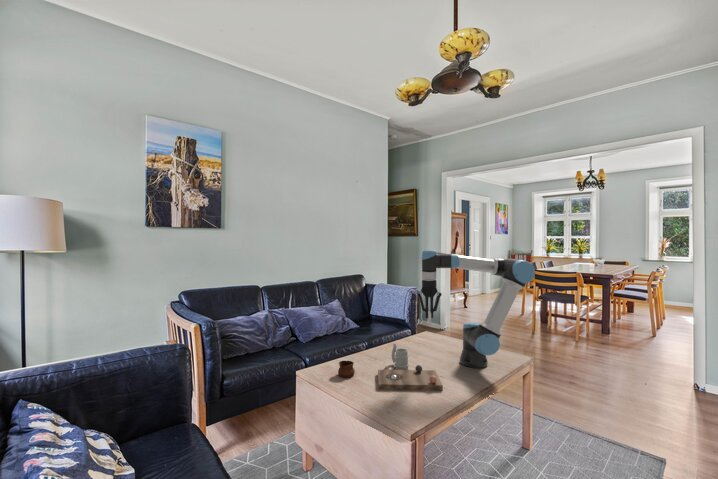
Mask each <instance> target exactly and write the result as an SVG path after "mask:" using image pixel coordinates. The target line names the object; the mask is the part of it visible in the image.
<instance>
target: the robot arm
mask: <svg viewBox="0 0 718 479" xmlns="http://www.w3.org/2000/svg"><path fill="white" fill-rule="evenodd" d="M437 269H458V270H459V269H460V270H467V271H473V272H475V271H476V272H481V273H489V274H491V275H492V276H496V277H502V278H501V280H502V284H501V287H500V288H499V291H498V292H497V294H496V297H495V299H494V301H493V303H492V305H491V307H490V309H489V311H488V313H487V315H486V317H485V319H484V321H483V322H465V323H463V325H462V350H461V353H460V356H459V363H460V364H461V365H463V366H464V367H467V366H468V368H472V369H473V368H474V369H483V368H486V367H487V366H488V365H489V364H488V363H489V362H488V356H493V355H495V354H496V353H497V352H499V350H500V347H501V343H500V338H501V336H502V333H501V332H500V331H501V328H502V326H503V325H504V323H505V321H506V318H507V316H508V314H509V312H510V311H511V308H512V306H513V304H514V302H515V300H516V298H517V295H518V294H519V292H520V290H523V289H525V287H526V285H527V284H528V283H530V282H532V281H533V280H534V278H535V276H536V271H535V268H534V265H533V264H532V263H531V262H529V261H527V260H525V259H517V258H494V257H493V258H492V259H490V258H482V257H474V256H466V255H459V254H457V253H446V252H437V251H436V249H435V250H433V249H431V250H430V249H425V250H423V251H422V252H421V279H422V280H421V290H420V291H418V292H416V295H417V296H418V298H419V299H418V300H419V303H420V304H419V305H420V307H421V310H422V312H425V313H424V314H425V316H424V317H425V319H426V320H427V321H426V322H427V325H428V326H431V325H432V319H434V312H437V310H438V306H439V302H440V298H441V296H443V294H442V292H440V291H438V288H437ZM422 295H423V296H424V299H425V300H424V301H423V297H422ZM435 296H436V297H435ZM434 297H435V301H434ZM424 302H425V304H424ZM482 367H483V368H482Z"/></svg>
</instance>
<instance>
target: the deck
mask: <svg viewBox="0 0 718 479" xmlns="http://www.w3.org/2000/svg"><path fill="white" fill-rule="evenodd" d="M392 375H396V376H397V377H398V378H397V379H393V378H391V376H392ZM432 375H434V376H436V378H437V381H436V383H431V382H430V380H429V378H430V376H432ZM377 380H378V391H379V390H382V391H385V390H386V391H388V390H389V391H394V390H395V391H440V392H441V391H443V389H444V388H443V387H444V386H443V382H442V381H441V379H440V377H439V375H438V373H437V371H436V370H432V369H431V370H430V369H429V370H423V369H422V371H421V372H417V371H416V369H407V370H398V369H377Z"/></svg>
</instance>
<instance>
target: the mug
mask: <svg viewBox="0 0 718 479" xmlns="http://www.w3.org/2000/svg"><path fill="white" fill-rule="evenodd" d="M408 353H409V352H408V349H406V348H397V344H396V343H393V346H392V351H391V361H392V363H394V368H395V370H409V355H408Z"/></svg>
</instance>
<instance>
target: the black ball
mask: <svg viewBox="0 0 718 479" xmlns="http://www.w3.org/2000/svg"><path fill="white" fill-rule="evenodd" d="M414 370H416V371H417V372H421V371H422V370H423V367H422V366H421V365H420V364H418V365H416V366H415V368H414Z"/></svg>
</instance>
